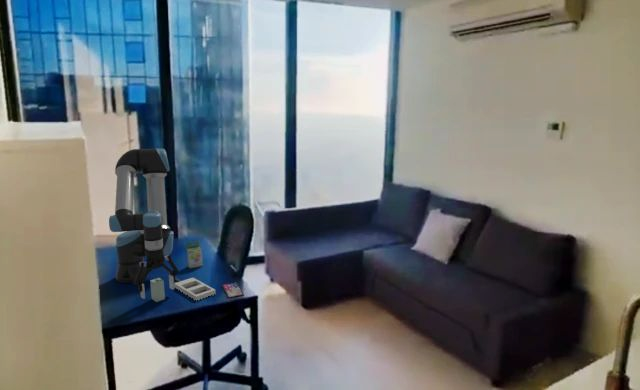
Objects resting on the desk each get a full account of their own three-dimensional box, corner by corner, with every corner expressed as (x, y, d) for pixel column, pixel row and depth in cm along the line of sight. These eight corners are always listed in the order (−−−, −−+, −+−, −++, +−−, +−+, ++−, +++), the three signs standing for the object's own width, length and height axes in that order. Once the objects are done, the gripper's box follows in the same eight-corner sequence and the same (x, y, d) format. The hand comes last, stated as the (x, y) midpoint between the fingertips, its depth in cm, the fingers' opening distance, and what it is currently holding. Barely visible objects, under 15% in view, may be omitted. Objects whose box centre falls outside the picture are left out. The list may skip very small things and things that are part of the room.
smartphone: (227, 297, 205) (221, 284, 218) (228, 299, 205) (221, 286, 218) (244, 294, 207) (236, 281, 221) (244, 296, 208) (237, 283, 221)
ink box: (189, 268, 238) (188, 244, 235) (187, 266, 242) (186, 242, 239) (202, 266, 242) (201, 242, 239) (200, 264, 245) (199, 240, 242)
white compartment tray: (165, 282, 221) (165, 278, 221) (184, 276, 228) (184, 272, 228) (196, 301, 202) (196, 296, 201) (215, 294, 209) (215, 289, 208)
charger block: (151, 298, 204) (150, 280, 202) (160, 296, 207) (159, 277, 204) (156, 301, 201) (154, 282, 199) (164, 299, 204) (163, 280, 202)
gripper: (129, 257, 187) (133, 304, 191) (184, 243, 204) (187, 287, 209) (122, 252, 192) (126, 299, 197) (176, 240, 209) (179, 282, 214)
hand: (157, 293), depth 203 cm, fingers open, 13 cm apart
